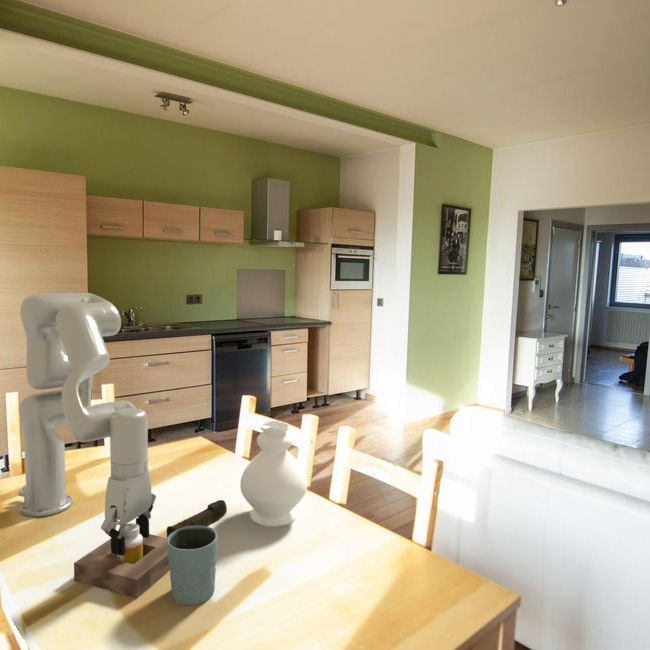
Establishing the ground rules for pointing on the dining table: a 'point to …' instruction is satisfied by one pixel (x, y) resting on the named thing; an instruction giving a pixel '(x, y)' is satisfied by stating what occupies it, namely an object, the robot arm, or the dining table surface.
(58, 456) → the robot arm
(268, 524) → the decorative vase
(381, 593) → the dining table surface
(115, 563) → the collar block
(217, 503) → the hand tool
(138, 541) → the supplement bottle
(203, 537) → the blue grey cup
